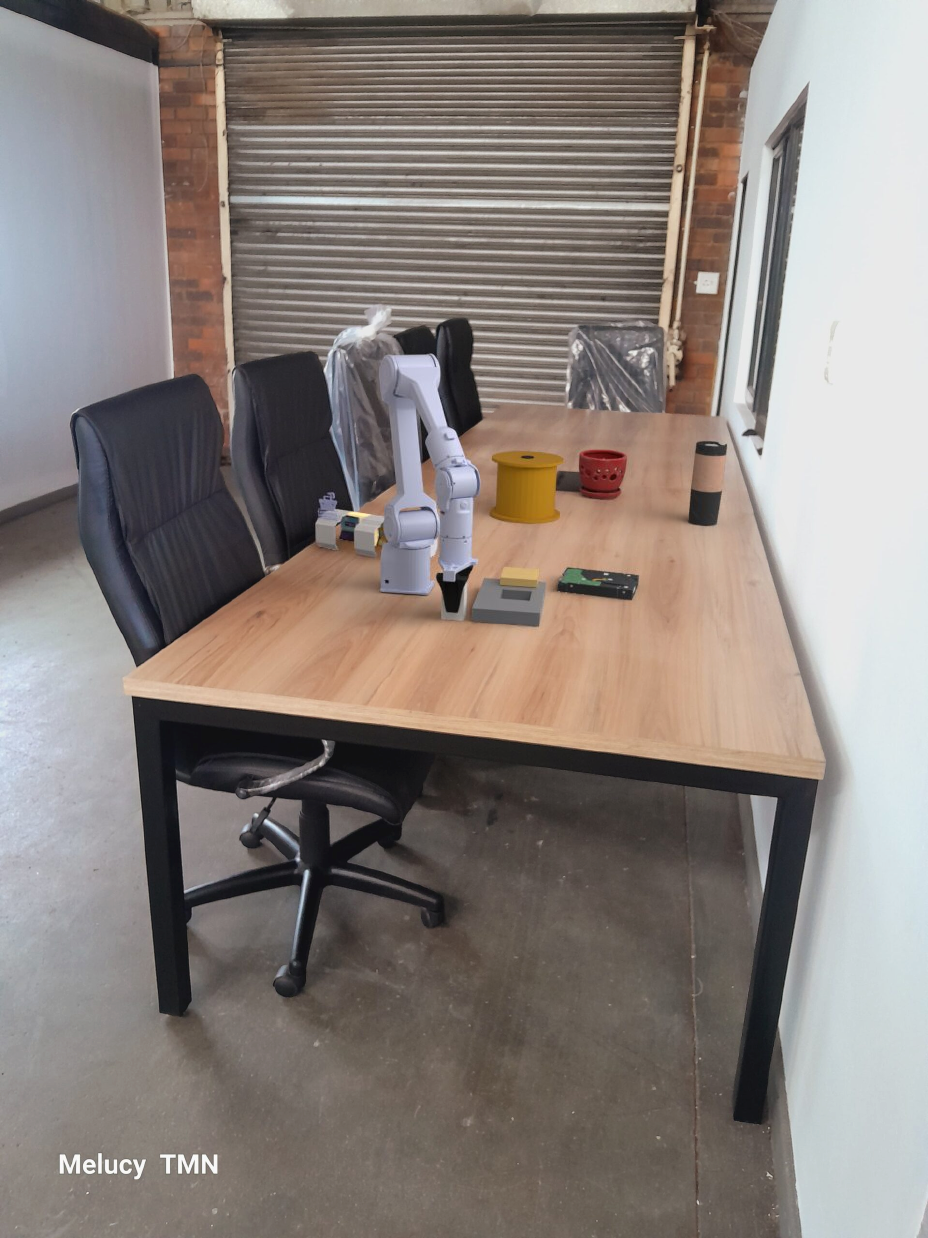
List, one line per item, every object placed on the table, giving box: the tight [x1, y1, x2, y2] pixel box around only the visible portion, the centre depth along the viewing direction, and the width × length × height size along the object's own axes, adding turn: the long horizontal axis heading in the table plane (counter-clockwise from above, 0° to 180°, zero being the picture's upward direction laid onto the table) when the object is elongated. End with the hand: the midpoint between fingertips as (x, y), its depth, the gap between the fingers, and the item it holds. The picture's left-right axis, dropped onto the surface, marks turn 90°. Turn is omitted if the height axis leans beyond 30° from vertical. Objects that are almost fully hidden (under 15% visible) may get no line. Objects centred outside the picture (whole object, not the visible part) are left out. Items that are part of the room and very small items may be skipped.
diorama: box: [314, 492, 439, 558], centre depth 208 cm, size 25×10×13 cm, turn 64°
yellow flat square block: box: [499, 566, 540, 588], centre depth 184 cm, size 7×7×2 cm
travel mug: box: [688, 440, 728, 527], centre depth 239 cm, size 8×8×20 cm
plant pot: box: [578, 448, 628, 500], centre depth 266 cm, size 13×13×12 cm
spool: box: [489, 450, 564, 524], centre depth 242 cm, size 18×18×15 cm
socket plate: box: [471, 577, 547, 627], centre depth 177 cm, size 12×18×2 cm, turn 172°
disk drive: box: [556, 566, 640, 601], centre depth 189 cm, size 10×3×15 cm
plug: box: [440, 581, 468, 622], centre depth 171 cm, size 4×4×6 cm
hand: (454, 607), depth 172 cm, fingers closed on plug, 4 cm apart
